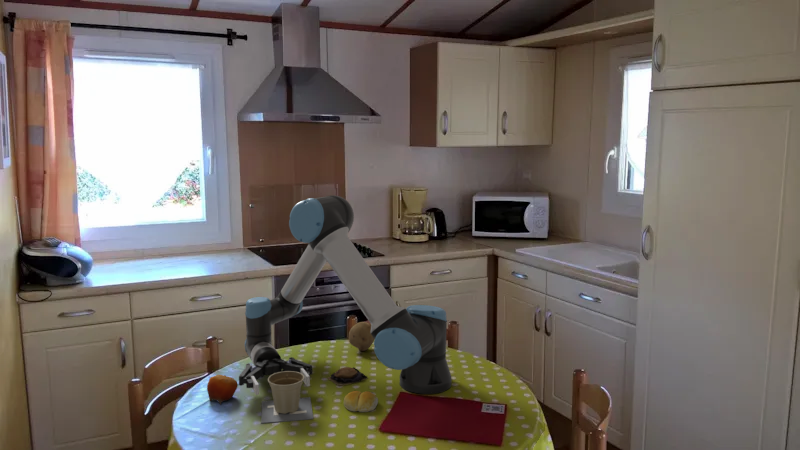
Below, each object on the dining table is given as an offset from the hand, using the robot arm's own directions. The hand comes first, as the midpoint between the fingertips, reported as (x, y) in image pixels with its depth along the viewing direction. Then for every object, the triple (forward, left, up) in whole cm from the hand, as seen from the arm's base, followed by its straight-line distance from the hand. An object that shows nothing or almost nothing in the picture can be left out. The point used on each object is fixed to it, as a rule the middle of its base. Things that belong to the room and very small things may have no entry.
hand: (283, 385), depth 162 cm
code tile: (-1, +1, -6) cm, 7 cm away
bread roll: (-18, -10, -7) cm, 22 cm away
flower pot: (-1, +1, -6) cm, 6 cm away
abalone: (-5, -25, -7) cm, 27 cm away
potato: (+3, -47, -7) cm, 48 cm away
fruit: (+19, +3, -7) cm, 20 cm away
